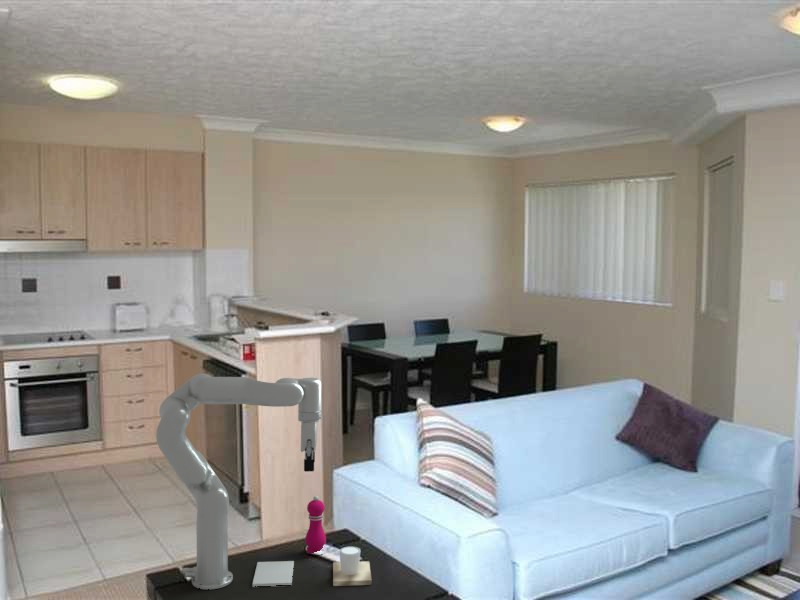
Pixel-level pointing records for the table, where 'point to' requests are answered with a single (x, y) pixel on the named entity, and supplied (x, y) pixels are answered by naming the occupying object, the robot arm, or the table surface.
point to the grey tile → (273, 573)
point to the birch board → (347, 580)
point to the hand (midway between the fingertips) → (309, 466)
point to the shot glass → (350, 560)
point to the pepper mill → (315, 526)
